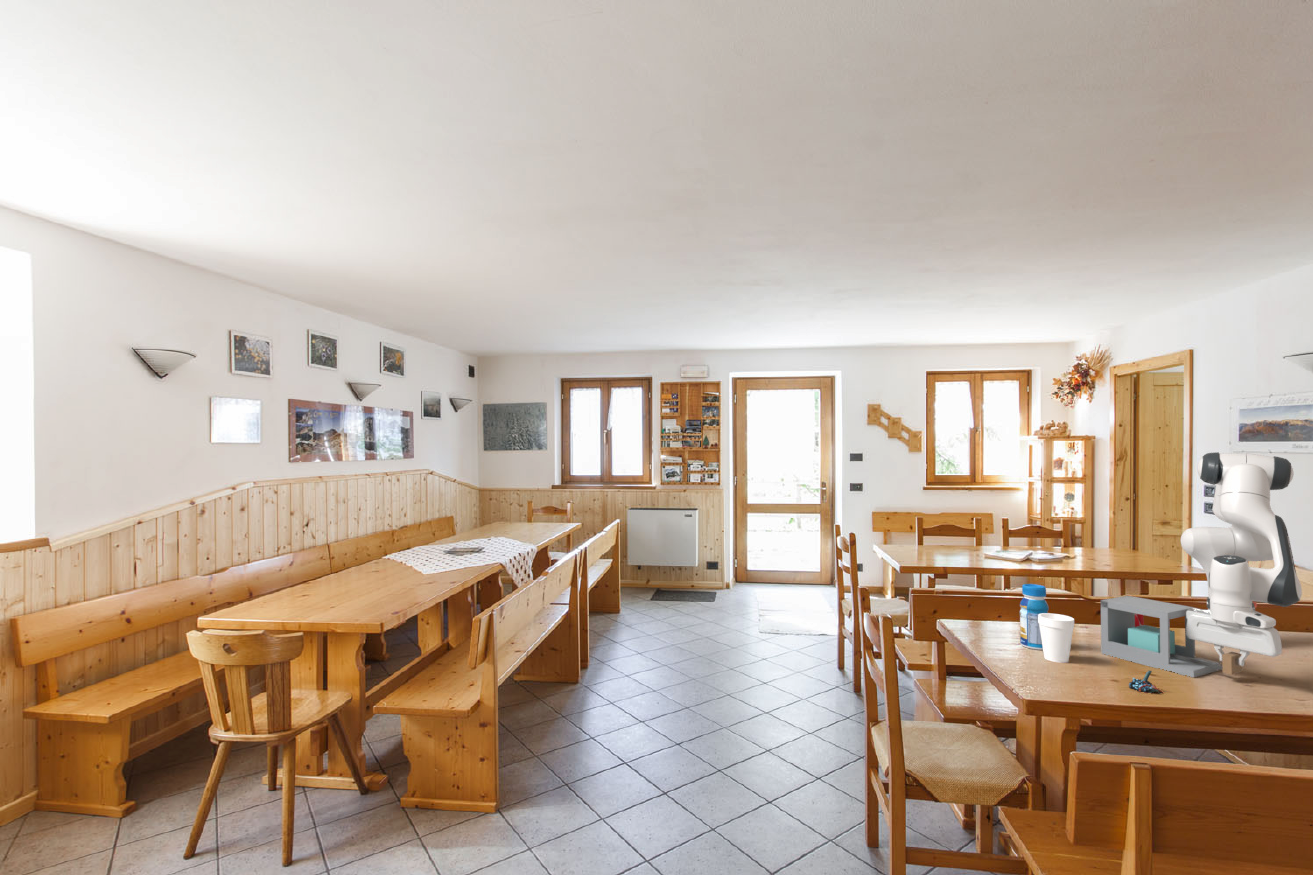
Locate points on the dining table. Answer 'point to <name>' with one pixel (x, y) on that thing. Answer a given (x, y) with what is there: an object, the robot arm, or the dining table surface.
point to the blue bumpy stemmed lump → (1143, 685)
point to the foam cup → (1056, 636)
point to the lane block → (1150, 641)
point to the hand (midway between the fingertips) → (1232, 663)
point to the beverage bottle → (1032, 615)
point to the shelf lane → (1122, 616)
